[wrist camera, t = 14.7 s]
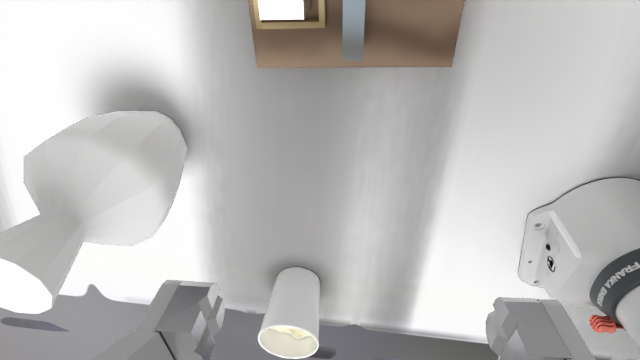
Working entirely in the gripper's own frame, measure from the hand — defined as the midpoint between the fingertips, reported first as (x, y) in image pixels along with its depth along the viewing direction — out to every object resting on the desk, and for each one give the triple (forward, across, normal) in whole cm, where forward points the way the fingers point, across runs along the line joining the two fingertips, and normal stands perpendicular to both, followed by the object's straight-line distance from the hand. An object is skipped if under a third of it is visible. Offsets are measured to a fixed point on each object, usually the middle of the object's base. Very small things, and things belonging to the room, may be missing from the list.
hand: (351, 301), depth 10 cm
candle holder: (+33, +9, +42) cm, 54 cm away
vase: (+33, +27, +12) cm, 45 cm away
